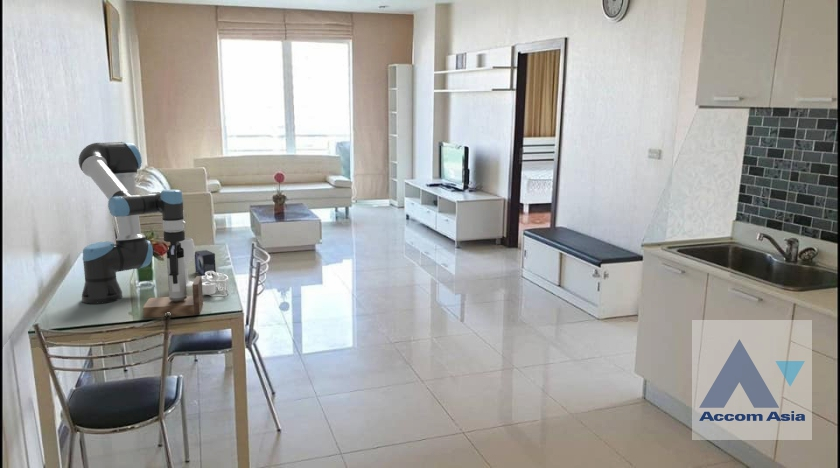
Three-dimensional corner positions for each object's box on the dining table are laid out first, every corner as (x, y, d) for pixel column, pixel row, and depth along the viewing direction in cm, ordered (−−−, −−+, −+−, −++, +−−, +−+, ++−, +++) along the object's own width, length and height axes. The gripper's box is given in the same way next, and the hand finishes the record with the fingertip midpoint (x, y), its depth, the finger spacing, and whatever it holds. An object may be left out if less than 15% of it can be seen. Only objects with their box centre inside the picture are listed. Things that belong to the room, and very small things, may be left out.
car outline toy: (198, 287, 277) (198, 271, 276) (224, 285, 282) (224, 269, 280) (203, 300, 259) (202, 282, 258) (230, 297, 264) (229, 280, 262)
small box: (194, 272, 304) (193, 251, 302) (207, 270, 308) (206, 249, 306) (203, 276, 296) (202, 255, 294) (216, 274, 300) (215, 253, 298)
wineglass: (190, 288, 276) (187, 241, 272) (172, 286, 278) (170, 240, 274) (201, 283, 284) (198, 237, 281) (183, 281, 286) (181, 236, 282)
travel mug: (189, 296, 247) (186, 246, 243) (183, 301, 240) (180, 250, 236) (173, 296, 246) (170, 246, 243) (167, 301, 240) (163, 250, 236)
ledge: (143, 317, 235) (141, 286, 233) (150, 307, 248) (148, 278, 246) (199, 314, 240) (197, 284, 238) (203, 304, 252) (201, 275, 250)
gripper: (180, 234, 230) (184, 295, 234) (187, 225, 248) (191, 282, 252) (158, 235, 228) (163, 296, 232) (167, 226, 247) (171, 283, 251)
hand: (177, 288), depth 242 cm, fingers closed on travel mug, 6 cm apart
